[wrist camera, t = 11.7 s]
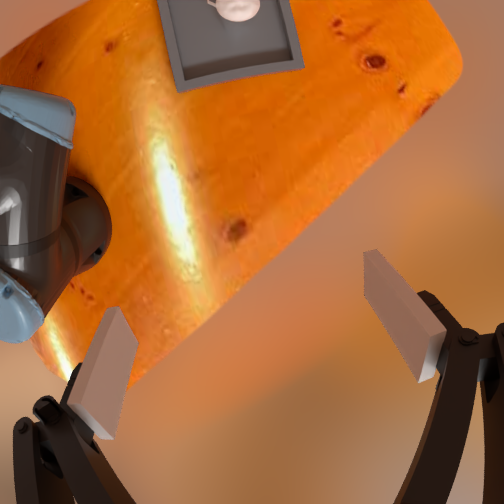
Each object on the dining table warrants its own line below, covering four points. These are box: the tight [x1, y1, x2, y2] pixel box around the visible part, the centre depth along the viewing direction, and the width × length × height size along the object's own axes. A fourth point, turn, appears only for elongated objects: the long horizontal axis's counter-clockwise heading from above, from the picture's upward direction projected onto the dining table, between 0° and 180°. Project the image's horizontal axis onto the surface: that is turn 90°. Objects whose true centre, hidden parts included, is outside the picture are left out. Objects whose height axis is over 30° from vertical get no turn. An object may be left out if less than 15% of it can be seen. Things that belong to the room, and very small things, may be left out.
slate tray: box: [157, 0, 305, 93], centre depth 31 cm, size 16×16×2 cm
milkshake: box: [207, 0, 260, 33], centre depth 27 cm, size 4×5×10 cm
